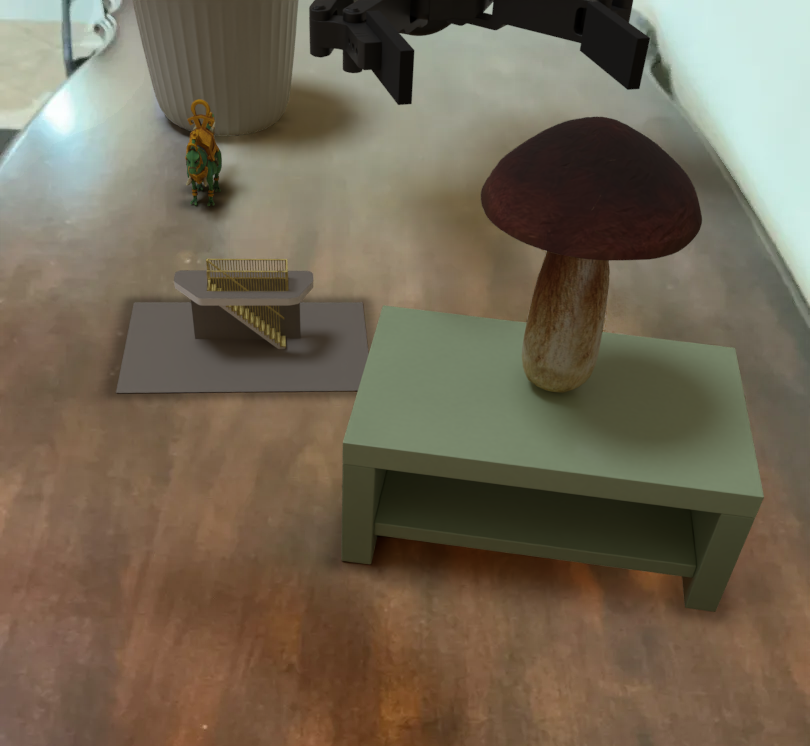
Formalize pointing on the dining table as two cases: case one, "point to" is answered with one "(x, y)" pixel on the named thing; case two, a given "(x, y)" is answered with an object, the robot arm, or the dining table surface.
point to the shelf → (551, 451)
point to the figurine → (203, 154)
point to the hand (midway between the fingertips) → (526, 71)
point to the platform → (244, 336)
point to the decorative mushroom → (585, 230)
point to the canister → (220, 59)
